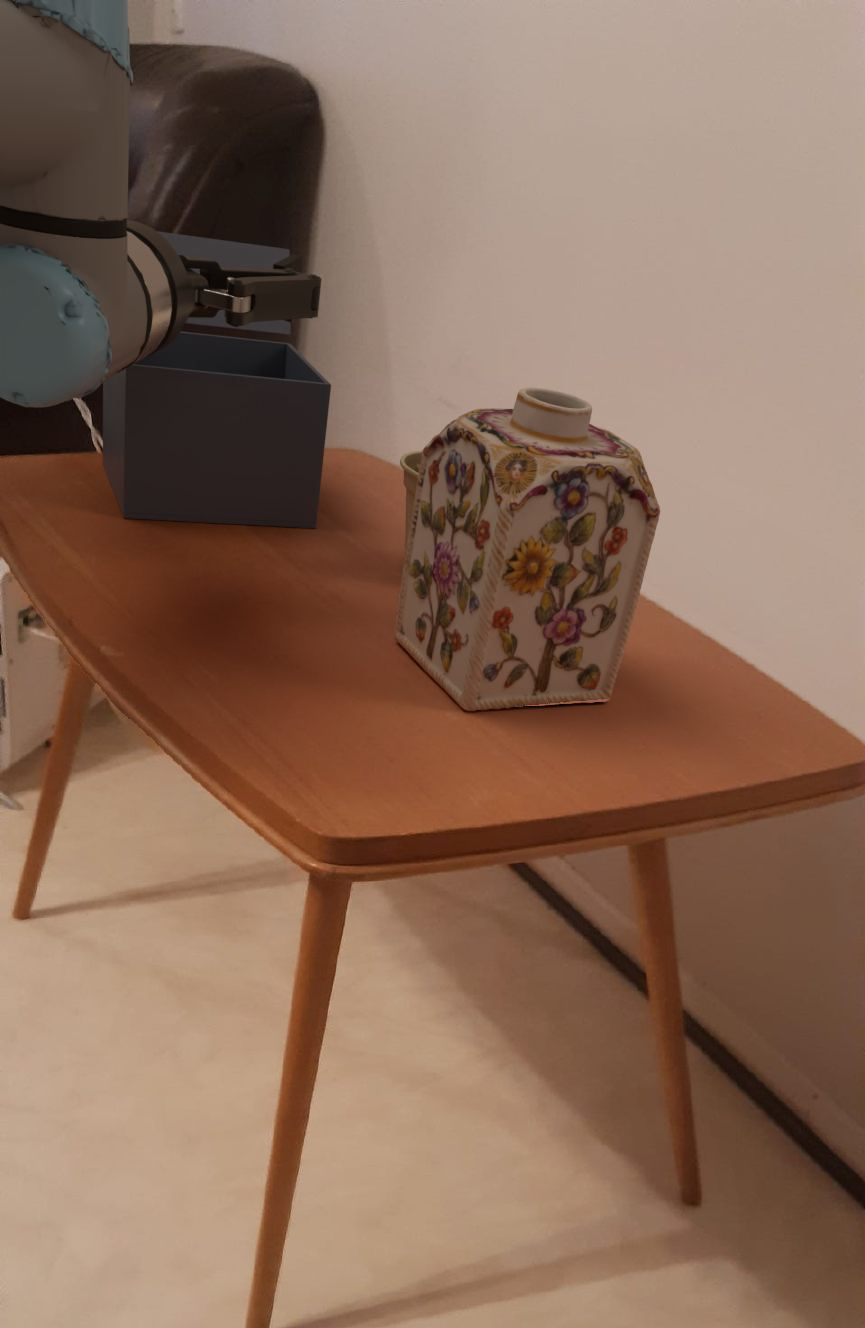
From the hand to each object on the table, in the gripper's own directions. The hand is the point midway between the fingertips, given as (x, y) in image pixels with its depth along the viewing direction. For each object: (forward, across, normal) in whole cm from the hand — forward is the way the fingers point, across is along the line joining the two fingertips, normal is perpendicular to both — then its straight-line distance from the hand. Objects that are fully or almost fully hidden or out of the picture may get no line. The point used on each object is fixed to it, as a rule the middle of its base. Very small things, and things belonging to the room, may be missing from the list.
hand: (207, 257), depth 91 cm
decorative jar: (-22, +28, -19) cm, 40 cm away
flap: (+10, -3, -3) cm, 11 cm away
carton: (+3, 0, -18) cm, 19 cm away
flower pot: (-6, +22, -19) cm, 29 cm away
